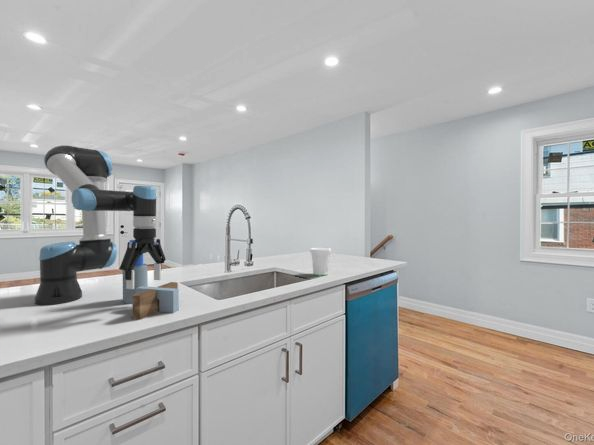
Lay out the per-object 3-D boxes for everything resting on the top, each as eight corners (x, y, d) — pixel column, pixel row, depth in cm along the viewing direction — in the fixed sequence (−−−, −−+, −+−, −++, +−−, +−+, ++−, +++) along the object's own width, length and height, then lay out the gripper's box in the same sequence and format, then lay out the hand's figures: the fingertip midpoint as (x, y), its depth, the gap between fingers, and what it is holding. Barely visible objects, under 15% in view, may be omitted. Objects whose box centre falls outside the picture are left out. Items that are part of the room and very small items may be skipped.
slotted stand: (132, 318, 99) (132, 295, 99) (171, 301, 118) (171, 282, 118) (140, 319, 98) (139, 296, 98) (177, 302, 118) (177, 282, 117)
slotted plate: (136, 309, 109) (135, 288, 109) (142, 306, 112) (141, 286, 111) (173, 312, 105) (173, 290, 105) (178, 310, 108) (178, 288, 108)
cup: (332, 276, 166) (332, 250, 166) (310, 276, 166) (310, 249, 166) (329, 272, 179) (330, 247, 178) (309, 272, 179) (309, 247, 178)
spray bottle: (138, 296, 126) (137, 238, 125) (152, 298, 122) (152, 239, 122) (117, 301, 118) (117, 240, 117) (132, 304, 114) (132, 241, 113)
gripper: (126, 230, 96) (126, 294, 97) (175, 226, 120) (174, 277, 121) (107, 229, 97) (107, 292, 98) (159, 225, 122) (159, 276, 123)
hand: (144, 284), depth 110 cm, fingers open, 13 cm apart
